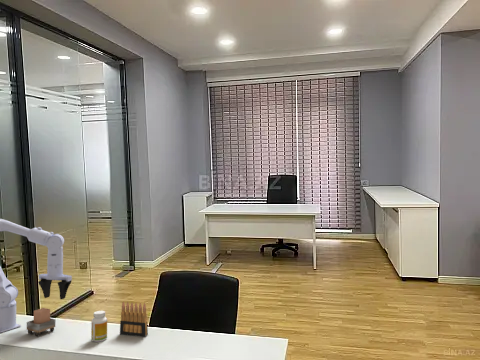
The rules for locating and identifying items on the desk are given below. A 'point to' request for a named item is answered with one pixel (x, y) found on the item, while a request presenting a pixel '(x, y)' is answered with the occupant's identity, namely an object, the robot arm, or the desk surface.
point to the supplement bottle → (99, 327)
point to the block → (41, 315)
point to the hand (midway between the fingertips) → (54, 298)
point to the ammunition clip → (133, 321)
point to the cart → (40, 326)
